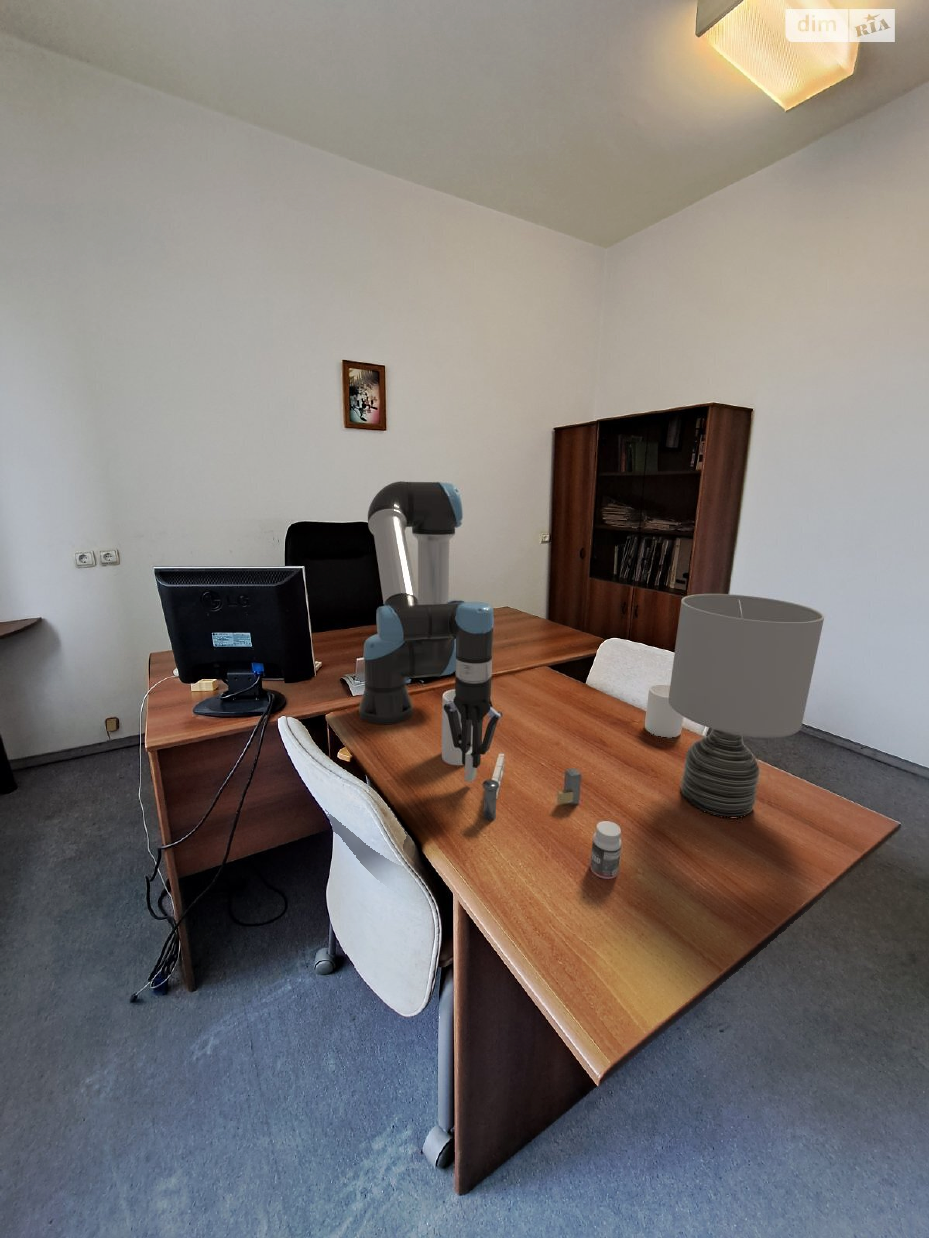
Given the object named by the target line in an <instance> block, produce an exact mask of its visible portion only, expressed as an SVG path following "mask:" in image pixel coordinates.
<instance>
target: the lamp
mask: <svg viewBox="0 0 929 1238" xmlns="http://www.w3.org/2000/svg"><path fill="white" fill-rule="evenodd" d="M824 620H825V615H824V614H823V613H822V612H821V611H819V610H817V609H814V608H812V607H809V606H807V605H802V604H799V603H794V602H791V601H786V600H785V601H784V600H780V599H774V598H768V597H762V596H761V597H760V596H754V595H741V594H728V593H703V594H702V593H700V594H699V593H698V594H691V595H687V596H684V597H682V599H681V602H680V610H679V617H678V626H677V633H676V639H675V647H674V654H673V662H672V669H671V678H670V683H669V684H670V685H669V686H670V691H669V704H670V705H671V707H672V708H673V709H674V710H675V711H676V712H678V713H679V714H680V715H682V716H684V717H683V718H685V719H687V720H689V721H691V722H694V723H696V724H697V725H700V726H703V727H706V728H709V729H711V731H710V733H709V734H708V735H707V736H704V737H702V738H700V739H698V740H696V741H695V742H694V743H692V744H691V745H690V746H689V748H688V749H687V752H686V754H685V761H684V764H683V765H684V767H683V774H682V779H681V787H680V788H681V789H680V790H681V794H682V797H683V798H684V797H685V798H684V799H685V800H686V802H688V803H689V804H690V803H691V804H692V806H693V805H694V806H695V807H694V806H693V807H694V808H696V809H698V808H699V809H701V810H702V812H704V811H705V812H704V813H706V812H708V813H707V814H709V813H710V814H709V815H712V814H715V815H718V816H717V817H719V816H722V817H721V818H724V817H728V818H727V819H732V818H731V817H741V816H744V815H747V814H749V813H750V812H751V811H752V812H753V810H754V805H755V802H756V796H757V790H758V783H759V779H760V772H761V769H760V768H761V767H760V765H759V763H758V760H757V758H756V756H755V755H754V754H753V753H752V752H751V750H750V749H749V748H748V747H747V746H746V745H745V744H744V741H743V737H750V738H757V739H758V738H763V739H764V738H765V739H767V738H768V739H769V738H770V739H772V738H785V737H789V736H792V735H795V734H797V733H798V732H799V731H800V730H801V729H802V725H803V721H804V716H805V713H806V712H805V711H806V707H807V703H808V702H807V701H808V698H809V697H808V696H809V693H810V688H811V684H812V683H811V682H812V679H813V678H812V676H813V672H814V669H815V663H816V658H817V654H818V649H819V644H820V639H821V636H822V635H821V634H822V631H823V626H824ZM691 804H690V805H691ZM699 809H698V810H699ZM701 810H700V811H701ZM752 812H751V813H752ZM751 813H750V814H751ZM750 814H749V815H750ZM715 815H714V816H715ZM747 816H748V815H747ZM741 818H742V817H741Z"/></svg>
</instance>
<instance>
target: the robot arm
mask: <svg viewBox="0 0 929 1238" xmlns="http://www.w3.org/2000/svg"><path fill="white" fill-rule="evenodd" d="M367 523H368V524H367V526H368V529H369V531H370V533H371V534H372V535H373V538H374V545H375V551H376V560H377V564H378V574H379V580H380V581H379V582H380V587H381V595H382V600H383V606H379V607H377V609H376V620H375V621H376V622H375V623H376V632H377V633H376V634H373V635H371V636H370V637H368V638H367V639H366V640H365V641H364V644H363V655H362V658H363V665H364V667H363V669H364V670H363V671H364V672H363V673H364V691H363V694H362V697H361V699H360V703H359V709H358V710H359V711H358V712H359V713H358V715H359V717H360V719H361V720H363V721H365V722H367V723H371V724H376V725H389V724H390V725H391V724H396V723H401V722H402V721H406V720H407V719H409V717H411V716H412V714H413V703H412V700H411V697H410V694H409V692H408V689H407V679H415V678H428V677H441V676H447V675H451V674H453V673H455V674H454V675H455V679H454V689H455V694H456V695H455V697H454V699H453V701H449V702H448V703H446V704H445V705H444V706H443V708H444V710H445V712H446V714H447V715H448V720H449V725H450V730H451V735H452V739H453V744H454V747H455V748H460V749H461V751H462V764H463V765H462V766H464V767H465V769H464V781H465V782H468V783H472V782H473V781H474V780H475V779H476V778H477V772H478V771H477V769H478V768H479V766H480V765H481V761H482V760H481V757H482V756H483V755H486V753H487V752H488V751H489V750H490V748H491V744H492V741H493V738H494V734H495V732H496V727H497V725H498V722H499V720H500V719H501V718H502V717H503V713H502V711H497V710H496V709H494V708H493V702H492V700H491V696H492V679H491V677H492V672H493V668H492V667H493V646H494V645H493V644H494V641H493V640H494V627H495V619H494V608H493V607H492V605H490V604H489V603H484V602H482V601H464V600H461V599H450V600H449V594H450V593H449V588H450V587H449V585H450V581H449V580H450V577H449V576H450V540H451V539H453V537H454V536H455V535H456V529H458V528H459V527H461V526H462V524H463V505H462V499H461V495H460V492H459V490H458V488H457V487H456V485H455V484H452V483H449V482H441V481H434V482H433V481H394V482H392V483H390V484H387V485H385V486H384V487H383V488H382V489H381V490H379V491H378V492H377V493H376V495H375V496H374V497H373V499H372V501H371V502H370V504H369V508H368V512H367ZM406 528H411V535H413V536H414V537H415V539H416V540H417V587H416V584H415V578H414V573H413V569H412V562H411V558H410V552H409V548H408V547H409V546H408V544H407V543H408V542H407V538H406V537H407V536H406ZM416 588H417V589H416ZM457 709H458V711H459V713H460V714H461V723H462V731H461V726H460V721H459V716H458V712H457ZM487 715H488V723H487V726H486V729H485V733H484V735H483V723H484V720H485V719H484V718H485V717H486V716H487ZM471 726H473V733H472V745H471ZM471 746H472V748H471V749H470V747H471Z"/></svg>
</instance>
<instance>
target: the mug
mask: <svg viewBox="0 0 929 1238" xmlns="http://www.w3.org/2000/svg"><path fill="white" fill-rule="evenodd" d="M669 691H670V685H669V684H653V685H651V686H649V687H648V693H647V694H648V695H647V704H646V711H645V719H644V728H645V730H646V731H647V733H649V732H650V733H649V734H651V735H653V734H654V735H653V736H655V737H658V736H661V737H660V738H662V737H667V738H666V739H673V738H672V737H674V738H677V737H679V736H680V735H681V733H682V729H683V723H684V718H685V717H684V716H682V715H680V714H679V713H678V712H676V711H675V710H674V709H673V708H672V707H671V705H670V704H669Z"/></svg>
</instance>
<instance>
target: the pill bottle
mask: <svg viewBox="0 0 929 1238" xmlns="http://www.w3.org/2000/svg"><path fill="white" fill-rule="evenodd" d="M621 829H622V828H621V827H620V826H619V825H618V824H617V823H615V822H612V821H608V820H603V821H600V822H598V823H597V824H596V829H595V833H594V834H593V835H592V844H591V854H590V863H589V865H590V866H589V868H590V870H591V872H592V873H593V874H594V875H595V876H597V877H599V878H602V879H605V880H607V879H614V878H615V877H617V876H618V873H619V867H620V860H621V852H622V851H621V850H622V839H621V837H622V830H621Z"/></svg>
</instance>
